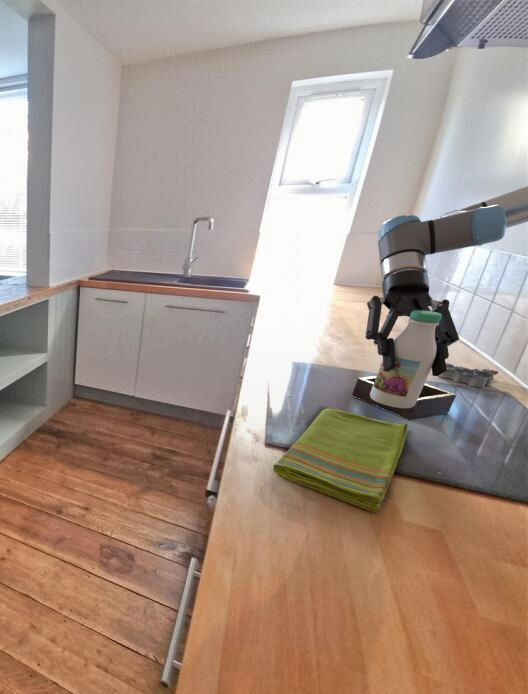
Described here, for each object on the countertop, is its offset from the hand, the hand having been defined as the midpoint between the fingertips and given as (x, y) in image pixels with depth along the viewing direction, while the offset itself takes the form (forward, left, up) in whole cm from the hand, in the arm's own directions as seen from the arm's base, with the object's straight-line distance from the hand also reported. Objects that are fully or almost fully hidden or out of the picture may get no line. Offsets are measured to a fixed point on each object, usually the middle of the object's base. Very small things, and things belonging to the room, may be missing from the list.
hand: (414, 370), depth 84 cm
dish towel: (-5, +19, -14) cm, 24 cm away
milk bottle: (+3, -2, -9) cm, 9 cm away
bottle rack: (+9, -15, -14) cm, 22 cm away
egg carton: (+16, -49, -14) cm, 53 cm away
